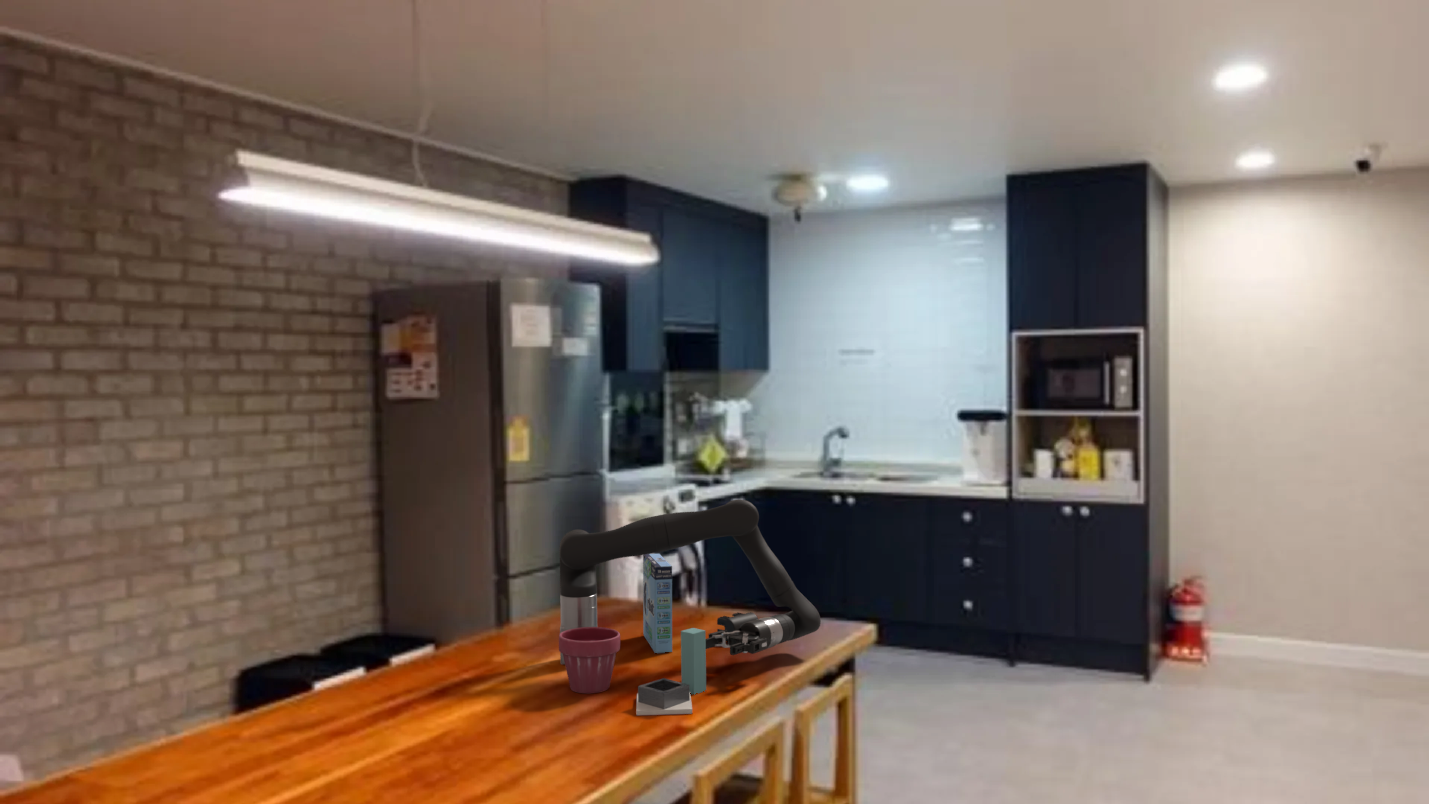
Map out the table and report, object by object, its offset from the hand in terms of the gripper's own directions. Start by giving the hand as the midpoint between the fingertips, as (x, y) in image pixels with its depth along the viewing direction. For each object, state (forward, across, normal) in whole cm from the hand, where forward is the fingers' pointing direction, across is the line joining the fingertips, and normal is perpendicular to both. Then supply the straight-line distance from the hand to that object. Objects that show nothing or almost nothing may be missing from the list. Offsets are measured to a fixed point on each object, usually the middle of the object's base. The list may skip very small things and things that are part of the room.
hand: (717, 647), depth 252 cm
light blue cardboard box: (-16, -36, +9) cm, 40 cm away
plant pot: (+22, -20, +9) cm, 31 cm away
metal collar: (+20, +2, +8) cm, 22 cm away
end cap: (-34, -22, +9) cm, 42 cm away
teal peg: (+8, 0, +8) cm, 12 cm away
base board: (+20, +2, +8) cm, 22 cm away
